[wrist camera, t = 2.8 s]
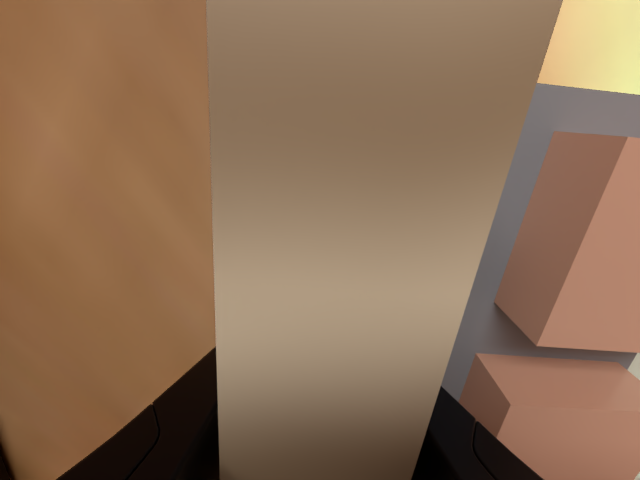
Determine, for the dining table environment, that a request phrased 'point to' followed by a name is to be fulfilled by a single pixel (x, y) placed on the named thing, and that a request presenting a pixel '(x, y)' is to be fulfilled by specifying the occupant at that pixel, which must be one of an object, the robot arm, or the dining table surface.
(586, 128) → the board
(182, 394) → the robot arm
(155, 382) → the dining table surface
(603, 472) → the tile far
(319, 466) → the strip
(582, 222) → the tile near
